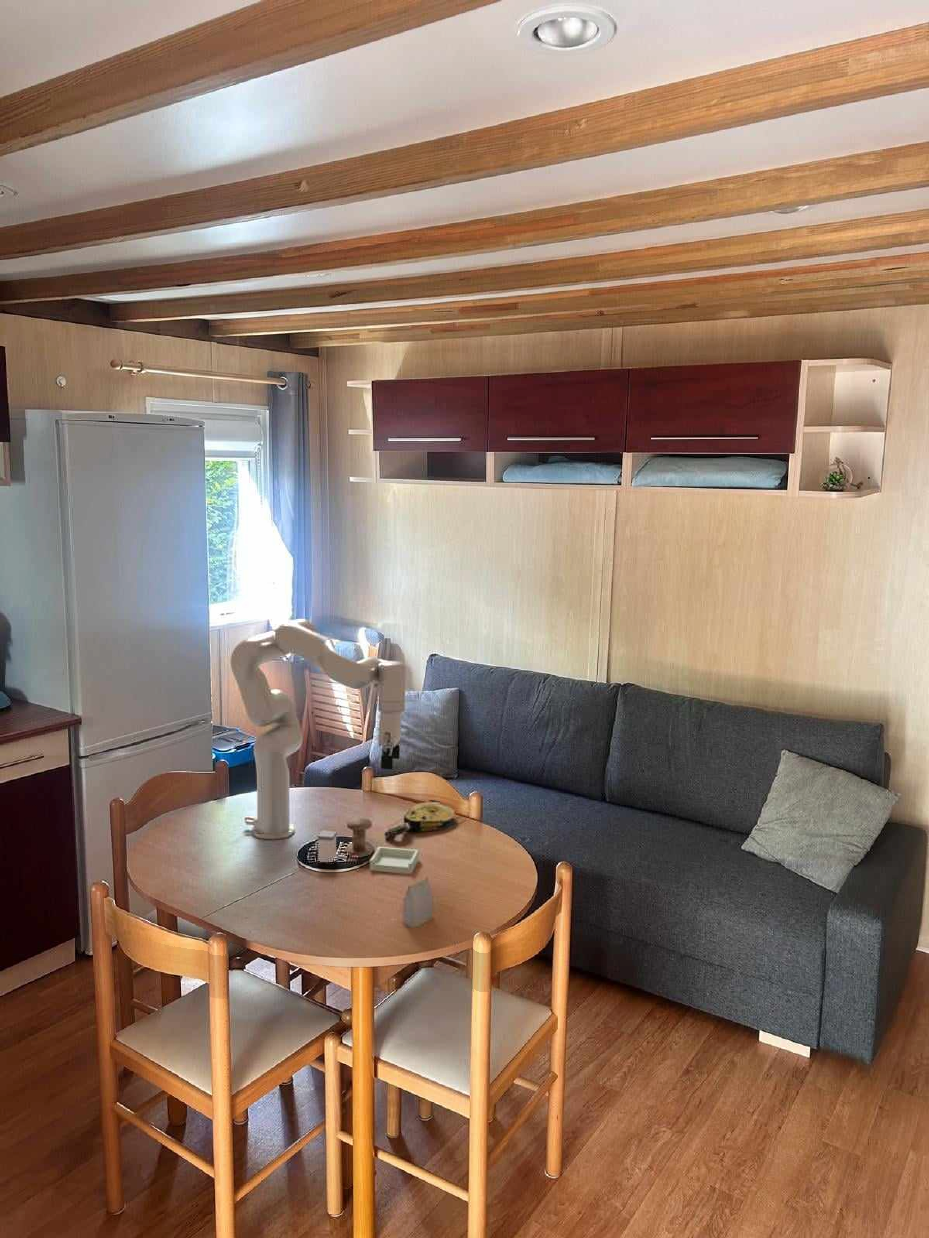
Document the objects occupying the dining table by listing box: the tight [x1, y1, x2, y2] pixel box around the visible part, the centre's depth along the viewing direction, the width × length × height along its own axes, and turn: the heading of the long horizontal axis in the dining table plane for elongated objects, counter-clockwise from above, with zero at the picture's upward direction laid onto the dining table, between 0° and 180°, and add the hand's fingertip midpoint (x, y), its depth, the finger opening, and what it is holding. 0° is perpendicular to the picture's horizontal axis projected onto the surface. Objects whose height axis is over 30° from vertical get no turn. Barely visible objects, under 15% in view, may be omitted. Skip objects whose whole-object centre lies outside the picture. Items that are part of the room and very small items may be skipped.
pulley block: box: [384, 799, 465, 839], centre depth 291 cm, size 14×6×30 cm
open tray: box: [369, 846, 420, 875], centre depth 263 cm, size 12×10×3 cm
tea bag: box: [402, 877, 434, 928], centre depth 231 cm, size 4×7×10 cm, turn 140°
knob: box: [344, 817, 374, 856], centre depth 271 cm, size 8×8×9 cm
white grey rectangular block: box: [317, 829, 338, 862], centre depth 264 cm, size 4×4×8 cm
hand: (390, 763), depth 269 cm, fingers open, 9 cm apart
